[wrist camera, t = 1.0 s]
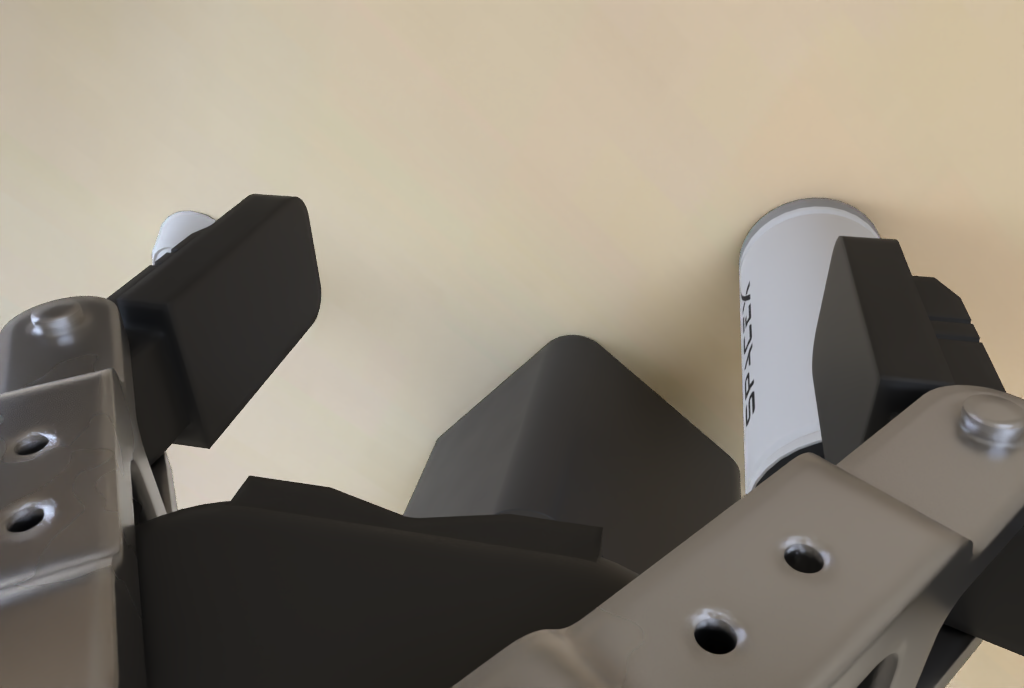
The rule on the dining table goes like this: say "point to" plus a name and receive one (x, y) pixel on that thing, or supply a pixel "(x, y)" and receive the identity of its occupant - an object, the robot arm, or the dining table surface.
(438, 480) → the bin
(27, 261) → the dining table surface
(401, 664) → the robot arm
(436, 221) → the dining table surface
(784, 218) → the travel mug
